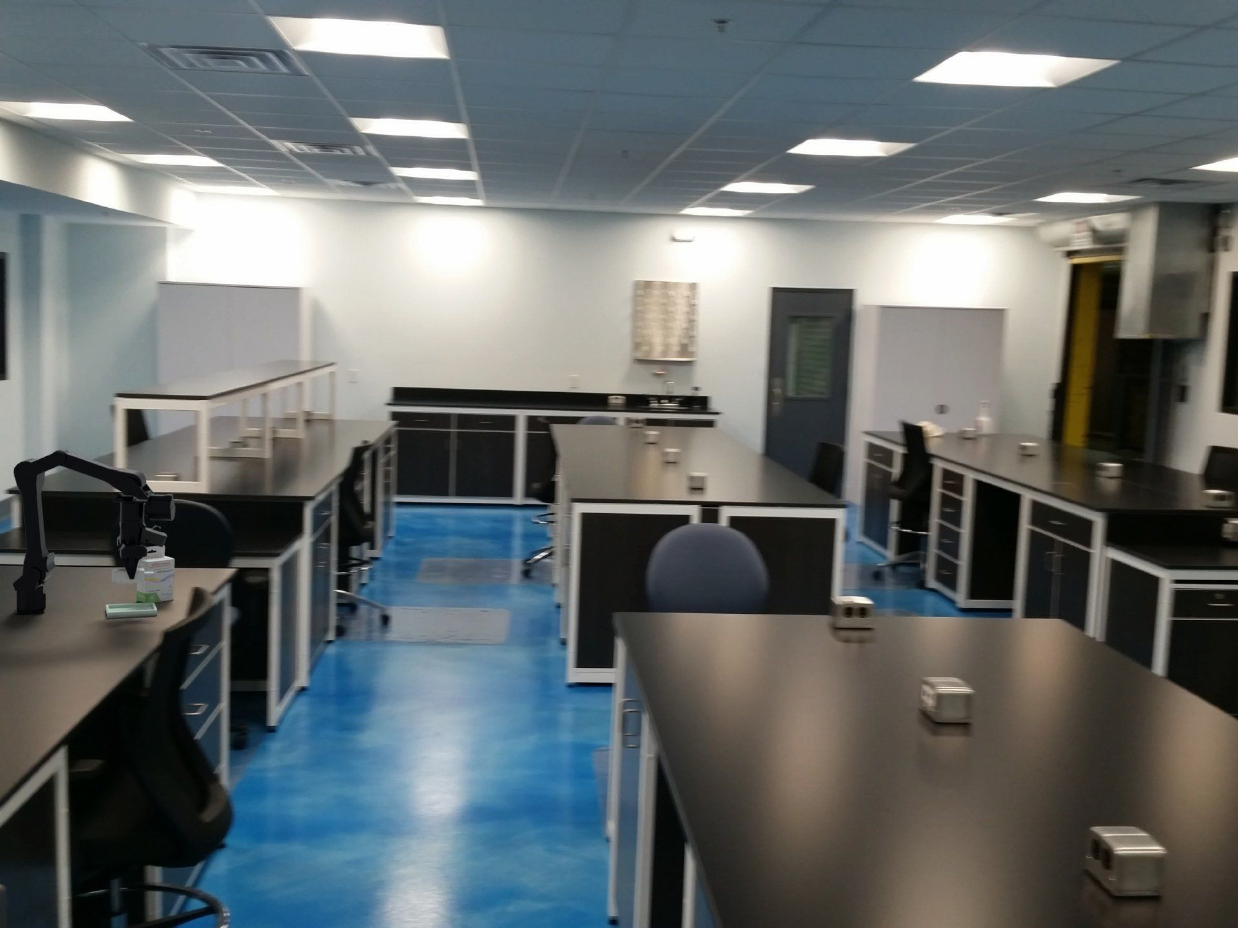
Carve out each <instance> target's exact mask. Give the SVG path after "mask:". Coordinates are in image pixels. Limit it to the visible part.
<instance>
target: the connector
mask: <svg viewBox="0 0 1238 928" xmlns="http://www.w3.org/2000/svg"><path fill="white" fill-rule="evenodd" d="M149 578H154V572H153V571H151V572H145V571H144V568H137V570H136V574H135V578H134V579H132V580H130V579H129V576H128V574H127V571H126V569H125V567H124V568H113V569H112V570H111V583H112V584H137V583H144V579H149Z"/></svg>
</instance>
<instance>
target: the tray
mask: <svg viewBox="0 0 1238 928" xmlns="http://www.w3.org/2000/svg"><path fill="white" fill-rule="evenodd" d="M105 612H106V618H107V619H111V618H113V619H114V618H116V619H117V618H135V617H151V616H152V617H153V616H154V617H155V616H158V609H157V606H156V602H153V603H143V602H136V603H135V602H134V603H115V604H105Z"/></svg>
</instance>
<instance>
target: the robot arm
mask: <svg viewBox="0 0 1238 928" xmlns="http://www.w3.org/2000/svg"><path fill="white" fill-rule="evenodd" d="M58 467H63V468H66V469H67V470H68V469H69V470H71V471H74V472H77V473H80V474H83V475H86V476H89V477H91V478H94V479H96V480H99V481H103V482H105V483H107V485H110V486H111V487H112V488H114V489H115V490H117V491H119V492H118V493H117V495H116V496H115V497H114V498H113V499H112V500H111V502H112V503H120V513H119V515H120V518H119V520H120V521H119V536H117V537H116V538H117V539H116V546H117V547H119V548H118V552H119V556H120V560H121V561H122V564H123V566H124V568H125V569H126V571H127V574H128V576H129V579H130V580H132V579H134V578H135V574H136V570H137V566H138V562H139V560H140V559H142V558H143V557H147V553H148V552H147V548H146V547H147V546H145V545H146V542H147V543H149V544H153V545H154V546H159V547H163V545H164V546H165V543H166V540H167V538H168V535H167V533H165V532H162V527H161V526H158V525H153V527H152V528H150V527H146V526H147V525H146V524H145V516H146V517H147V518H149V520H150V521H173V520H174V519H175V516H176V515H175V514H176V505H175V500H174V494H173V493H171V494H170V493H169V494H168V493H167V494H155V492H154V491H153V490H152V489H151V488H150V486H149V485H148V482H147V478H146V476H145V474H144V473H143V471H139V470H136V469H131V468H125V467H122V468H121V467H116V466H111V465H109V464H105V463H102V462H100V461H97V460H94V459H91V458H88V457H85V456H82V455H79V454H76V453H73V452H71V451H69V450H67V449H64V448H61V449H57V450H55V451H53V453H51V454H47V455H45V456H43V457H40V458H28V459H25V460H22V461H20V462H18V463H17V464H16V465H15V466H14V468H13V471H12V473H13V478H14V480H15V484H16V487H17V489H18V490H19V493H20V495H21V499H22V509H23V510H22V511H23V512H22V513H23V521H24V531H25V545H26V551H25V555H24V559H23V564H22V574H21V576H20V577H19V578H17V579H16V580H14V581H13V583H12V586H13V589H14V591H15V593H16V596H15V598H16V600H15V602H16V603H15V604H16V607H15V615H22V614H23V615H24V614H28V615H29V614H43V613H45V610H46V609H47V592H46V591H44V585H45V583H46V581H47V580H48V579H49V578H51V576H52V575H53V574H54V571H55V569H56V568H57V565H56V563H55V557H56V555H55V552H49V551H48V549H47V547H46V537H45V536H46V535H45V528H44V527H45V526H44V514H43V503H42V502H43V501H42V491H43V488H44V487H43V486H44V483H45V476H46V475H45V474H46V472H48V471H50V470H53V469H55V468H58Z"/></svg>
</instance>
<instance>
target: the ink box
mask: <svg viewBox="0 0 1238 928" xmlns="http://www.w3.org/2000/svg"><path fill="white" fill-rule="evenodd" d="M146 548H147V557H143V558H142V559H140V560H139V562H138V566H137V568H144V571H145V572H151V571H153V572H154V578H149V579H144V583H136V601H138V602H139V603H153V602H154V603H161V602H166V601H172V600H173V601H174V597H175V596H174V593H175V592H174V589H175V558H173V557H170V556H166V555H165V552H166V546H165V544H164V545H163V547H159V546H157V545H154V546H146ZM151 551H155V552H151ZM149 552H150V553H149Z"/></svg>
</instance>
